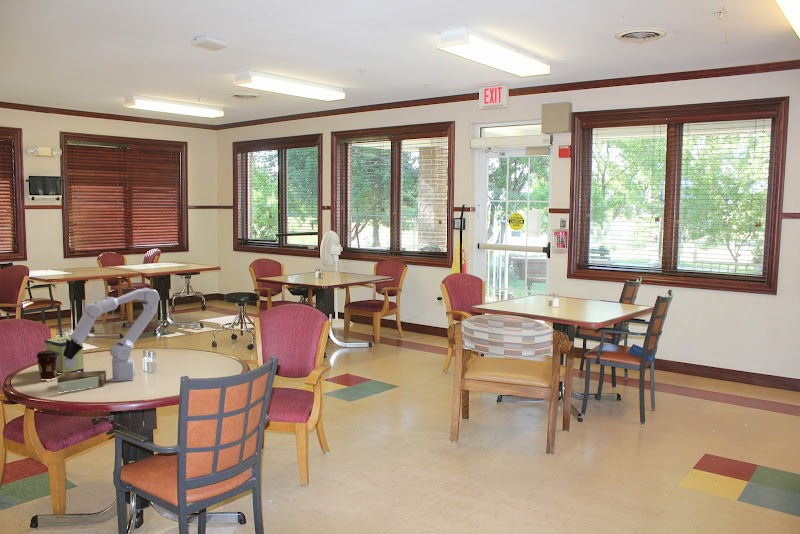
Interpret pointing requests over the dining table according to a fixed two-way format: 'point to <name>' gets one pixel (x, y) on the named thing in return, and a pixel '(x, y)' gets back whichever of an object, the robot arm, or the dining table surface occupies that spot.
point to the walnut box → (82, 376)
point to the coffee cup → (47, 364)
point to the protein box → (62, 362)
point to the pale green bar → (78, 384)
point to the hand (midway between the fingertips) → (67, 357)
